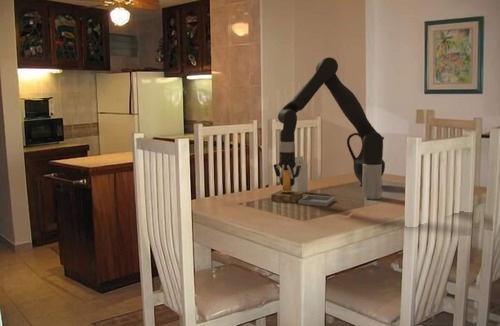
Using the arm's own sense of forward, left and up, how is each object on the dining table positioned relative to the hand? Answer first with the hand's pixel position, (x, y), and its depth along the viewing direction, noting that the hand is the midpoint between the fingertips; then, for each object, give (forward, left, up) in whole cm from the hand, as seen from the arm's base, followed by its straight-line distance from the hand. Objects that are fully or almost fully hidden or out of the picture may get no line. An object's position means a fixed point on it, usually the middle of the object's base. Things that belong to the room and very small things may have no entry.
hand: (287, 185), depth 246 cm
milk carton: (+3, -23, -8) cm, 24 cm away
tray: (-15, 0, -8) cm, 17 cm away
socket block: (0, 0, -8) cm, 8 cm away
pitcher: (-26, -53, -8) cm, 60 cm away
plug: (0, 0, -2) cm, 2 cm away
